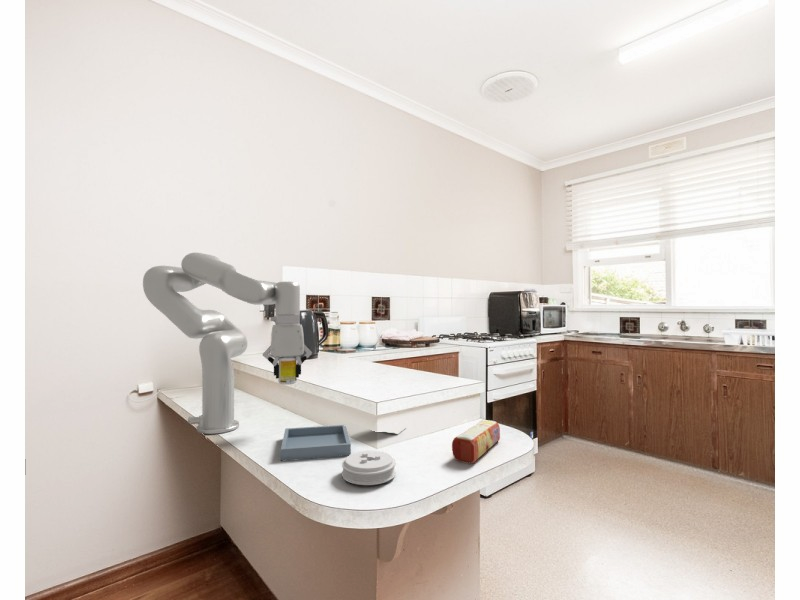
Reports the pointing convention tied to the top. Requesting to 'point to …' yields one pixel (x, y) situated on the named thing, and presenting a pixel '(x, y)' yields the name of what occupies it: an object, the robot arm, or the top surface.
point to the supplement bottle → (287, 370)
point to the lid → (368, 467)
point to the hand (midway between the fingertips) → (287, 376)
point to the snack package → (475, 441)
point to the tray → (315, 442)
